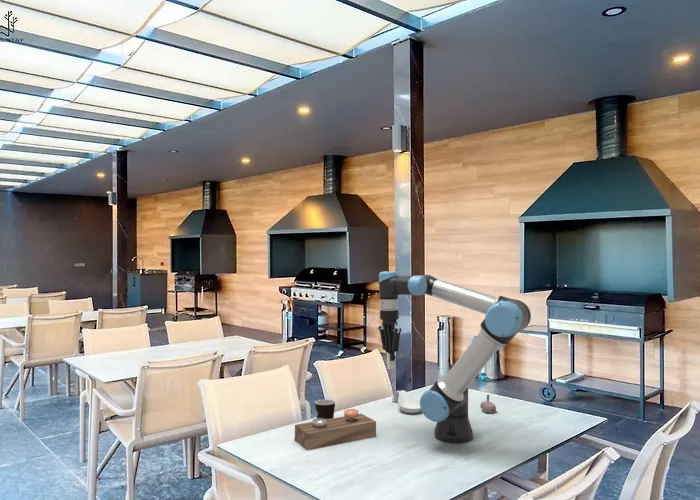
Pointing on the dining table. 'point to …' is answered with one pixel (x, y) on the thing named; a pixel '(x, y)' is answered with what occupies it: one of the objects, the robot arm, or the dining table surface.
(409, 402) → the spoon rest
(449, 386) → the robot arm
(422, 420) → the dining table surface
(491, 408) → the garlic bulb
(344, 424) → the button block
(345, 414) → the terracotta plunger
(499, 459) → the dining table surface
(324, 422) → the grey plunger
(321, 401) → the coffee mug
